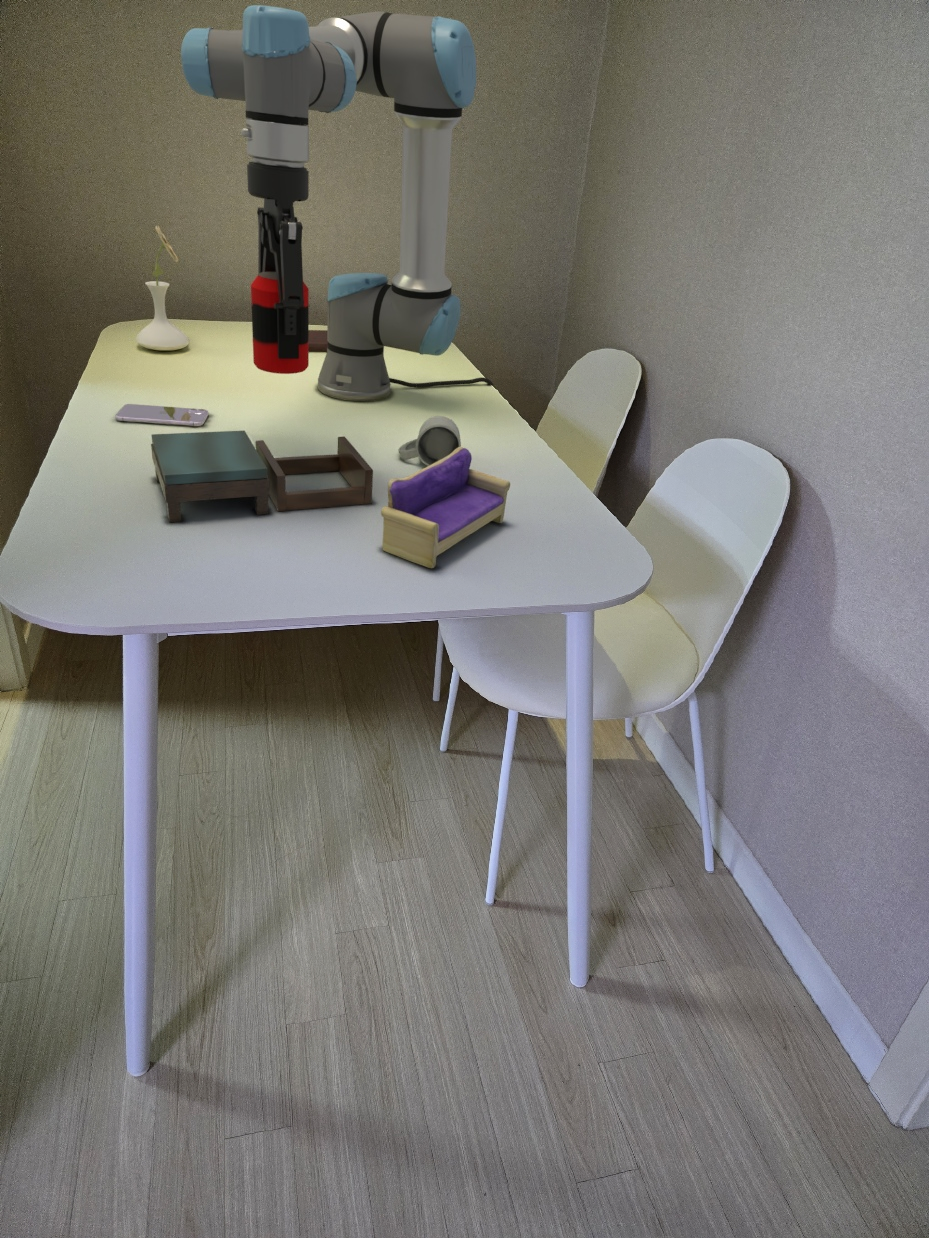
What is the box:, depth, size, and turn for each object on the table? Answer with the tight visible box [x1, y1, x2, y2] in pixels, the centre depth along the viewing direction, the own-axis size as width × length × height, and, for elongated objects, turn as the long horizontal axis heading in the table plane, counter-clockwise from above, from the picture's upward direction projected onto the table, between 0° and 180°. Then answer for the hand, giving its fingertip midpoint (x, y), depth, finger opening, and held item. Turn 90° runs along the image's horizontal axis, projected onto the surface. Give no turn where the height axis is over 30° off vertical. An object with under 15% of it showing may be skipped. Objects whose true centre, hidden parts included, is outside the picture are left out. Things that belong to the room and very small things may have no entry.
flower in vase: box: [135, 225, 190, 351], centre depth 175 cm, size 13×11×25 cm
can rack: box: [255, 435, 374, 512], centre depth 123 cm, size 14×14×6 cm
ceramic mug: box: [397, 415, 462, 467], centre depth 137 cm, size 11×8×8 cm
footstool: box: [150, 430, 270, 523], centre depth 116 cm, size 14×16×7 cm
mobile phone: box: [115, 403, 210, 427], centre depth 143 cm, size 8×1×15 cm
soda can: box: [250, 272, 310, 375], centre depth 109 cm, size 8×8×12 cm
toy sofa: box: [380, 446, 511, 569], centre depth 112 cm, size 21×9×10 cm, turn 148°
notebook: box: [309, 329, 327, 353], centre depth 197 cm, size 15×20×2 cm
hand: (280, 349), depth 111 cm, fingers closed on soda can, 8 cm apart
